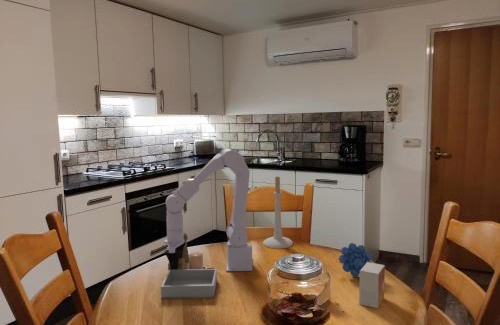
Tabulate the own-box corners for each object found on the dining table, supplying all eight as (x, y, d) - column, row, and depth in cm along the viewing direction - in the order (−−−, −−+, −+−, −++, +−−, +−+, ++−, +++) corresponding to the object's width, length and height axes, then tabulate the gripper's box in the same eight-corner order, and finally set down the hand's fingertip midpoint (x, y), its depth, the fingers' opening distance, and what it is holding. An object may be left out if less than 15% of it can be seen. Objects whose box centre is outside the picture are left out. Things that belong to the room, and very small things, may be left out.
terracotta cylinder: (204, 270, 142) (203, 252, 142) (202, 276, 138) (201, 257, 137) (190, 271, 142) (190, 252, 142) (188, 276, 138) (188, 257, 137)
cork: (191, 257, 156) (190, 230, 154) (187, 263, 150) (186, 235, 148) (176, 257, 156) (175, 230, 155) (171, 263, 150) (170, 235, 149)
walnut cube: (185, 271, 143) (184, 258, 142) (182, 276, 138) (182, 263, 137) (171, 271, 143) (170, 258, 142) (168, 277, 138) (167, 263, 137)
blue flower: (342, 282, 131) (342, 247, 129) (336, 274, 137) (337, 241, 136) (376, 281, 131) (377, 246, 130) (369, 273, 138) (370, 240, 136)
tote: (217, 280, 134) (216, 268, 134) (213, 297, 121) (213, 285, 121) (169, 280, 134) (169, 269, 134) (161, 298, 121) (160, 286, 121)
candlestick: (278, 237, 180) (277, 172, 176) (298, 243, 170) (298, 175, 167) (257, 243, 172) (256, 175, 168) (277, 250, 162) (277, 179, 158)
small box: (377, 309, 113) (378, 274, 111) (358, 304, 116) (359, 270, 114) (384, 298, 119) (385, 264, 118) (366, 293, 122) (366, 261, 121)
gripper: (167, 223, 145) (169, 258, 147) (159, 234, 131) (160, 273, 132) (186, 222, 145) (188, 258, 147) (180, 234, 131) (181, 273, 132)
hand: (176, 265), depth 140 cm, fingers open, 7 cm apart
